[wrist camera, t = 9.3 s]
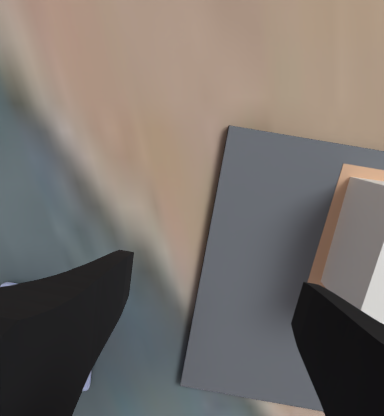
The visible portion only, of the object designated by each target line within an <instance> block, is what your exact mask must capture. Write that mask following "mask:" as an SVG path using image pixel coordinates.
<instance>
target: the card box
mask: <svg viewBox="0 0 384 416" xmlns="http://www.w3.org/2000/svg"><path fill="white" fill-rule="evenodd" d="M321 283H322V284H323V285H324V286H325V288H326V289H328V290H330V291H331V292H333V293H335V294H336V295H338V296H339V297H341V298H343V299H344V300H346V301H347V302H349V303H350V304H352V305H353V306H355V307H356V308H358V309H360V310H361V311H363V312H364V313H366V314H367V315H369V316H371V317H372V318H374V319H375V320H377V321H379V322H380V323H382V324H384V181H378V180H371V179H364V178H356V177H350V179H349V183H348V186H347V190H346V193H345V197H344V200H343V204H342V207H341V211H340V214H339V218H338V221H337V225H336V229H335V232H334V236H333V239H332V243H331V246H330V250H329V253H328V257H327V260H326V264H325V267H324V271H323V275H322V278H321Z"/></svg>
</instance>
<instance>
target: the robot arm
mask: <svg viewBox="0 0 384 416" xmlns="http://www.w3.org/2000/svg"><path fill="white" fill-rule="evenodd" d="M133 256H134V252H129V251H123V250H118V251H115V252H112V253H110V254H108V255H106V256H103V257H101V258H99V259H97V260H94V261H92V262H90V263H87V264H85V265H82V266H80V267H77V268H74V269H72V270H69V271H66V272H63V273H60V274H57V275H54V276H50V277H47V278H43V279H39V280H35V281H30V282H25V283H20V284H17V283H11V282H5V283H3V284H2V285H1V286H0V416H72V414H73V412H74V409H75V407H76V404H77V402H78V400H79V397H80V395H81V393H82V391H86V390H88V389H89V387H90V383H91V371H92V368H93V366H94V364H95V362H96V360H97V358H98V357H99V355H100V353H101V351H102V349H103V347H104V346H105V344H106V342H107V340H108V338H109V337H110V335H111V333H112V331H113V329H114V328H115V326H116V324H117V322H118V320H119V318H120V316H121V314H122V312H123V309H124V307H125V304H126V301H127V299H128V296H129V290H130V281H131V273H132V264H133ZM291 326H292V330H293V334H294V338H295V341H296V345H297V348H298V350H299V353H300V355H301V358H302V360H303V363H304V365H305V367H306V370H307V372H308V374H309V377H310V379H311V382H312V384H313V386H314V389H315V391H316V393H317V396H318V398H319V400H320V403H321V406H322V408H323V411H324V413H325V416H384V324H382V323H380V322H379V321H377V320H375V319H374V318H372V317H371V316H369V315H367V314H366V313H364V312H363V311H361V310H360V309H358V308H356V307H355V306H353V305H352V304H350V303H349V302H347V301H346V300H344V299H343V298H341V297H339V296H338V295H336V294H335V293H333V292H331V291H330V290H328V289H326V288H325V287H323V286H321V285H318V284H313V283H308V282H303V285H302V288H301V291H300V295H299V298H298V302H297V305H296V308H295V312H294V315H293V318H292V322H291Z"/></svg>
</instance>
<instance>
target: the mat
mask: <svg viewBox="0 0 384 416" xmlns="http://www.w3.org/2000/svg"><path fill="white" fill-rule="evenodd" d="M350 177H356V178H364V179H371V180H378V181H384V151H379V150H373V149H367V148H361V147H355V146H349V145H343V144H337V143H331V142H325V141H319V140H313V139H307V138H301V137H296V136H290V135H284V134H278V133H272V132H266V131H260V130H254V129H248V128H242V127H236V126H229V128H228V133H227V139H226V144H225V149H224V155H223V160H222V165H221V170H220V176H219V181H218V186H217V192H216V197H215V202H214V208H213V213H212V218H211V223H210V229H209V234H208V239H207V245H206V250H205V255H204V260H203V266H202V271H201V276H200V282H199V287H198V292H197V298H196V303H195V308H194V313H193V319H192V324H191V329H190V335H189V340H188V345H187V351H186V356H185V361H184V366H183V372H182V377H181V384H180V386H184V387H190V388H195V389H201V390H206V391H212V392H218V393H223V394H229V395H234V396H240V397H245V398H251V399H257V400H262V401H268V402H273V403H279V404H285V405H290V406H296V407H301V408H307V409H312V410H318V411H323V408H322V406H321V403H320V400H319V398H318V396H317V393H316V391H315V389H314V386H313V384H312V382H311V379H310V377H309V374H308V372H307V370H306V367H305V365H304V363H303V360H302V358H301V355H300V353H299V350H298V348H297V345H296V341H295V338H294V334H293V330H292V326H291V322H292V318H293V315H294V312H295V308H296V305H297V302H298V298H299V295H300V291H301V288H302V285H303V282H308V283H313V284H318V285H321V286H323V287H325V286H324V285H323V284H322V283H321V278H322V275H323V271H324V267H325V264H326V260H327V257H328V253H329V250H330V246H331V243H332V239H333V236H334V232H335V229H336V225H337V221H338V218H339V214H340V211H341V207H342V204H343V200H344V197H345V193H346V190H347V186H348V183H349V179H350Z"/></svg>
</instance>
